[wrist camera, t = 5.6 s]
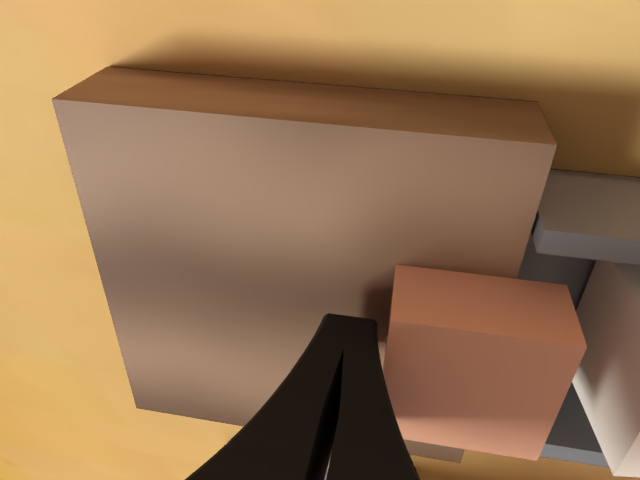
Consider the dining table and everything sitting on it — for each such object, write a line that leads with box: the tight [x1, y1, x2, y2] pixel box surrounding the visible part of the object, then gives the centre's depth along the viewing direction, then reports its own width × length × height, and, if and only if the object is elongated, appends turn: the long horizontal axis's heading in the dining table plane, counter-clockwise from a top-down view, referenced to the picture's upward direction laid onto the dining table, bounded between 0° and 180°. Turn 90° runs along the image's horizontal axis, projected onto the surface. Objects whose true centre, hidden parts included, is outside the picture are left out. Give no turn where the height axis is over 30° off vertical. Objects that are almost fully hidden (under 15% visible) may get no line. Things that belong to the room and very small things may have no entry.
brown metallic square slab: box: [52, 67, 557, 463], centre depth 15 cm, size 11×11×2 cm
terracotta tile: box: [382, 264, 587, 461], centre depth 13 cm, size 4×4×2 cm
